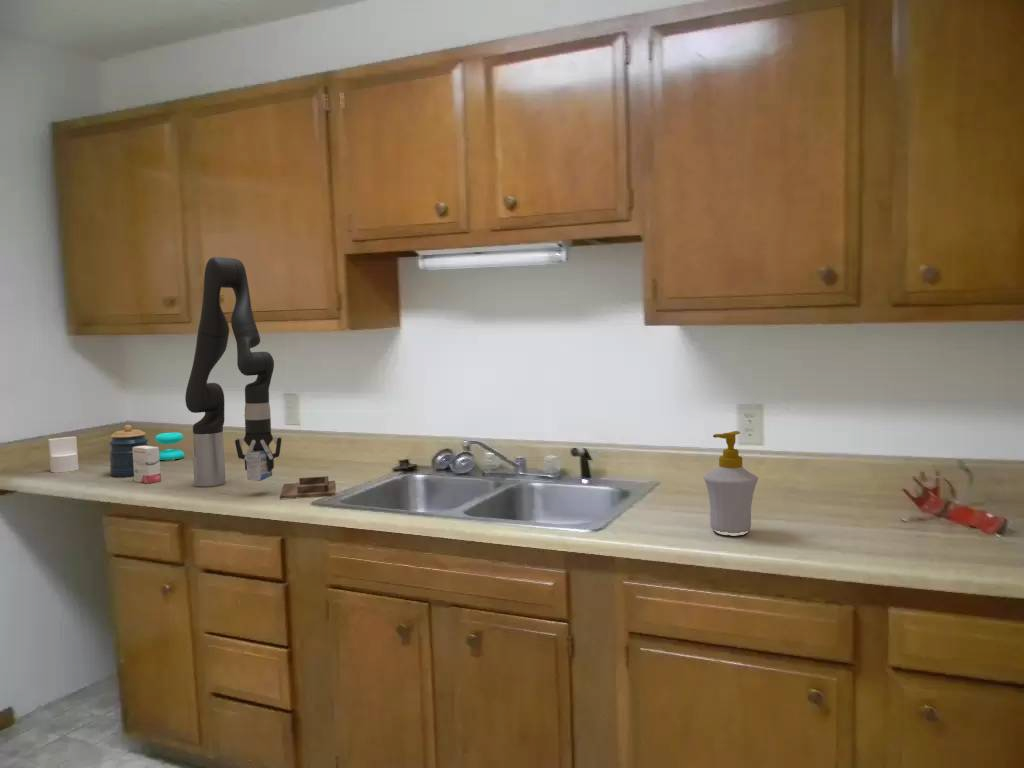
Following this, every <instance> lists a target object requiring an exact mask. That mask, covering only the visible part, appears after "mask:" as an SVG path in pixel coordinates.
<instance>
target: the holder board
mask: <svg viewBox="0 0 1024 768" xmlns="http://www.w3.org/2000/svg"><path fill="white" fill-rule="evenodd" d="M335 493H336V481H335V480H329V476H328V475H326V476H311V477H310V476H308V477H299V478H298V482H294V483H292V482H291V483H283V485H282V488H281V492H280V494H279V499H280V498H292V499H297V498H296V497H307V498H319V497H320V498H322V497H333V496H332V495H335V496H336V494H335Z"/></svg>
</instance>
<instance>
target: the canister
mask: <svg viewBox="0 0 1024 768" xmlns="http://www.w3.org/2000/svg"><path fill="white" fill-rule="evenodd" d="M146 434H147V432H145V431H142V429H133V427H132V425H131V424H125V425H124V427H123V430H117V431H115V432H114V433H113V434H111V435H110V437H111V440H109V441H108V444H109V446H110V448H109V451H108V453H109V463H110V465H109V466H110V469H109V471H110V475H111V476H112V477H115V478H128V477H129V478H130V477H131V478H132V477H134V466H133V450H132V448H133V447H137V446H149V445H148V443H149V441H150V439H149V438H147V437H146V436H145V435H146Z"/></svg>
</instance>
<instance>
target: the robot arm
mask: <svg viewBox="0 0 1024 768" xmlns="http://www.w3.org/2000/svg"><path fill="white" fill-rule="evenodd" d="M222 288H224V289H227V288H228V289H229V288H230V289H231V288H232V290H233V292H234V296H235V304H234V308H233V311H232V314H231V318H230V320H231V321H230V322H231V323H230V324H231V329H232V332H233V336H234V339H235V341H236V351H237V355H236V356H237V357H236V359H237V363H236V364H237V369H238V370H239V373H241V374H242V375H243V376H247V377H248V376H257V377H256V379H255V381H253V382H250V383H247V384H246V385H245V387H244V402H245V404H244V414H243V416H244V428H245V430H244V432H245V434H244V435H245V436H244V437H242V438H236V439H235V440H234V444H235V448H236V453H237V456H238V457H237V458H238V459H239V460H244V470H245V471H246V472H247V458H246V454H243V453H244V452H243V449H242V448H243V447H242V446H243V444H244V443H245V444H246V445H247V446H248V449H247V451H246V453H248V452H252V451H254V450H265V452H266V453H267V455H268V457H269V471H272V472H273V470H274V467H275V461H274V459H276V458H279V457H280V454H281V453H280V452H281V448H282V440H283V439H282V437H281V436H276V437H275V436H273V435H272V420H271V419H272V418H271V416H272V415H271V406H270V385H271V381H272V378H273V374H274V369H275V368H274V367H275V360H274V357H273V356H272V355H271V353H269V352H268V351H254V352H253V351H251V349H252V348H253V349H254V348H255V347H257V346H258V345H259V344H260V343H261V336H260V333H259V331H258V328H257V324H256V321H255V316H254V314H253V309H252V303H251V296H250V288H249V282H248V277H247V271H246V268H245V264H243V262H242V261H241V260H240V259H238V258H232V257H217V256H214V257H211V258H209V259H208V261H207V262H206V265H205V269H204V277H203V291H202V293H203V294H202V295H203V296H202V307H201V311H200V313H201V314H200V319H199V324H198V330H197V336H196V344H195V351H194V358H193V361H192V362H193V363H192V368H191V370H190V371H191V372H190V375H189V378H188V382H187V387H186V390H185V397H184V398H185V400H184V401H185V406H186V408H187V410H188V412H191V413H194V414H196V413H199V414H200V413H204V415H203V417H202V418H200V420H198V421H196V422H195V423H194V424H193V425H192V439H193V440H192V441H193V455H194V456H193V457H192V460H193V461H192V462H193V463H192V465H193V481H194V487H203V488H205V487H207V488H208V487H215V486H221V485H224V484H226V467H225V465H226V463H225V445H224V444H225V443H224V425H225V393H224V390H223V388H222V386H221V385H220V384H219V383H216V382H208V380H209V379H208V378H209V376H210V374H211V372H212V370H213V369H214V368H215V366H216V365H217V364H218V362H219V361H220V359H221V358H222V357H223V355H224V354H225V352H226V351H227V346H228V342H229V341H228V340H229V336H230V326H229V322H228V320H227V318H226V316H225V313H224V312H223V309H222V306H221V301H220V300H221V296H220V295H221V289H222ZM272 442H274V445H276V446H275V451H274V452H272V449H271V447H270V444H271V443H272Z"/></svg>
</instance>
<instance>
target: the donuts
mask: <svg viewBox="0 0 1024 768" xmlns="http://www.w3.org/2000/svg"><path fill="white" fill-rule="evenodd" d="M183 438H184V435H183V433H181V432H177V431H176V432H162V433H158V434H157V435H155V441H156V442H157V443H158V444H162V445H172V444H177V443H180V442H181V441H183V440H184V439H183ZM184 456H185V453H184V451H183V450H181V449H177V448H169V449H164V450H159V460H173V459H179V458H181V459H183V458H184ZM182 457H183V458H182ZM179 460H180V459H179ZM173 461H174V460H173Z"/></svg>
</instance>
